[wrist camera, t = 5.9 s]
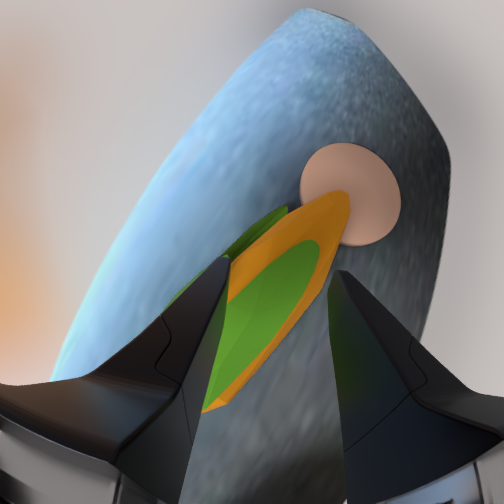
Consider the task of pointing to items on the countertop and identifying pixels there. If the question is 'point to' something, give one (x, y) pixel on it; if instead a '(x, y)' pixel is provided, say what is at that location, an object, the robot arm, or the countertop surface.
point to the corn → (272, 286)
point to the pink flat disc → (354, 190)
